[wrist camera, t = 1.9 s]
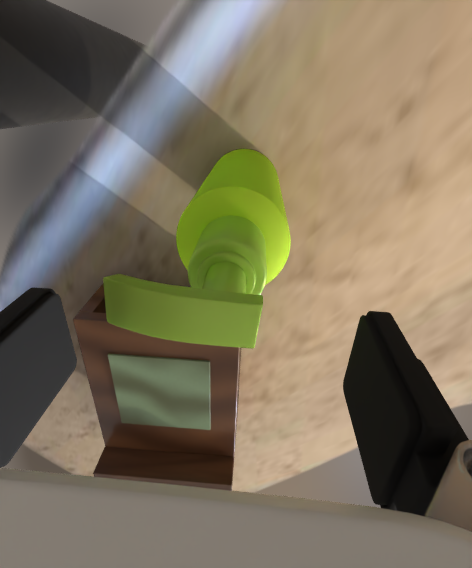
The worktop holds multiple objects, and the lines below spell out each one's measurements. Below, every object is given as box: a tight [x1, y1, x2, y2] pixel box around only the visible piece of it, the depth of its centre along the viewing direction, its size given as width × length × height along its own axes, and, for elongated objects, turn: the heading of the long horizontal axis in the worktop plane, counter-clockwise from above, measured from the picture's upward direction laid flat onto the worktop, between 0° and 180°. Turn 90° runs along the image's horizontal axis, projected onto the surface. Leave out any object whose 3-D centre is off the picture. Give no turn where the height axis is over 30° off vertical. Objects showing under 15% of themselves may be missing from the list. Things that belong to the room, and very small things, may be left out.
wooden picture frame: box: [73, 283, 241, 491], centre depth 34 cm, size 18×14×10 cm
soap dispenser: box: [103, 149, 290, 348], centre depth 20 cm, size 6×7×20 cm
